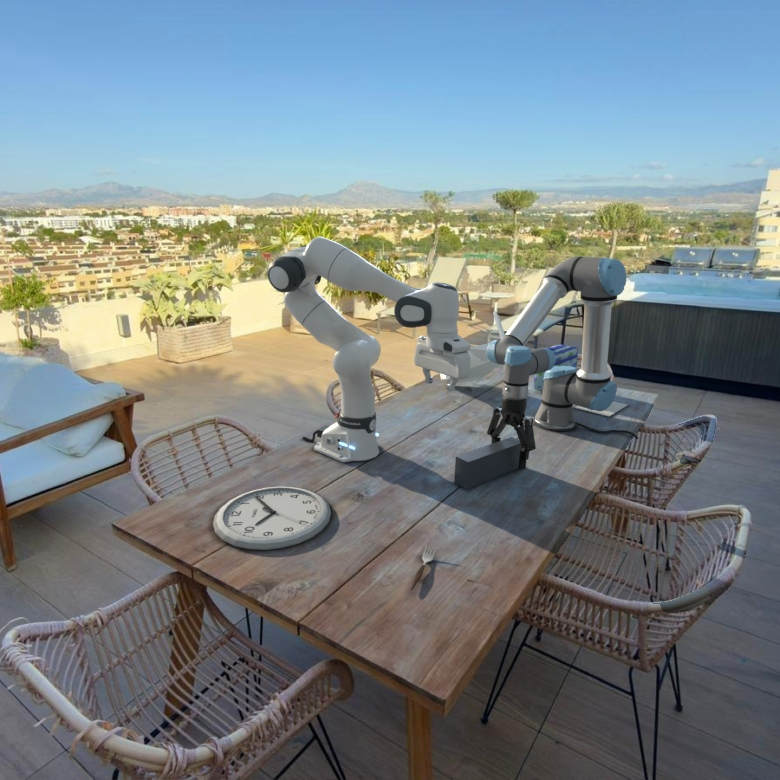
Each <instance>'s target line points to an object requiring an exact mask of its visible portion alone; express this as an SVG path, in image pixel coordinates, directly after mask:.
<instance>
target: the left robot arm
mask: <svg viewBox="0 0 780 780" xmlns="http://www.w3.org/2000/svg"><path fill="white" fill-rule="evenodd" d="M266 275H267V279H268V282H269V283H270V285H271V287H272V288H273V289H275V291H277V292H279V293H284V296H283V303H284V305H285V307H286V308H287V310H288V311H289V313H290V314H291V315H292V317H293V318H294V319H295V320H296V321H297V322H298V324H299V325H301V326H302V327H303V329H305V330H306V331H307V332H308V333H309V334H310V335H311V336H312V337H313V338H314V339H315V340H316V341H317V342H319V343H320V344H322V345H325V346H327V347H329V348H331V349H332V350H334V351H335V353H334V355H333V357H332V361H331V362H332V368H333V370H334V372H335V373H336V375H337V379H338V383H339V386H340V388H339V389H340V402H341V403H340V409H341V410H340V411H338V413H335V414H334V419H336V418H337V419H336V421H335V422H334V423H332V424H331V425H324V426H321V427H319V428H318V429H316V430H315V431H313V433H312V438H308V437H306V436H302V440H305V441H307V442H309V443H311V442H314V441H316V436H317V438H320V441H318V442H316V444H315V445H314V447H313V451H315V452H318V453H320V454H322V455H325V456H327V457H329V458H332V460H333V459H334V460H336V461H338V462H340V463H349V462H361V461H368V460H371V459H373V458H376V457H377V456H378V455H380V449H379V446H378V441H377V437H379V435H380V433H379V432H376V428H377V412H376V390H375V387H374V385H373V380H372V374H371V371H372V367H374V365H376V363H377V362H378V361H379V359H380V356H381V352H382V347H381V343H380V342H379V340H378V339H377V338H376V337H374V336H373V335H370V334H368V333H367V332H365V331H363V330H362V329H361V328H359V327H357V326H356V325H355V324H353V323H352V322H351V321H349V320H348V319H346V318H345V317H344V316H342V314H340V312H339V311H338V310H337V309H335V308H334V307H333V306H332V304H330V303H329V302H328V301H327V300H326V299H325V298H324V297H323V296H322V295H321V294H320V293H319V292H318V291H317V289H316V285H318V284H320V282H321V281H322V278H323V279H325V280H326V281H328V282H329V283H332V284H333V285H334V286H336V287H338V288H341V289H343V290H346V291H348V292H370V293H376V294H378V295H380V296H383V297H385V298H387V299H388V300H391V301H392V302H393V303H395V306H394V311H393V312H394V317H395V320H396V321H397V322H398V324H399V325H401V326H402V327H403V328H408V329H415V328H421V327H426V336H425V335H420V336H419V337H418V338H417V339H416V345H415V349H414V357H413V363H414V365H415V366H416V367H420V368H422V373H423V375H424V382H425V384H432V383H433V382H434V381H433V380H434V378H433V376H432V374H431V371H432V372H435V373H437V374H440V373H441V374H444V375H447V376H450V380H451V382H450V384H448V385H446V390H447V391H448V392H455V390H456V385H457V384H456V383H457V382H458V380H459V379H464V378H467V377H468V376H469V374H470V355H469V353H468V352H467V351H469V350H470V348H471V347H472V346H471V343H470V342H469V341H467V340H466V339H464V338H463V337H462V336H460V334H458V333H459V329H458V319H459V315H460V297H459V291H458V289H457V288H456V287H455V286H454V285H451V284H449V283H446V282H432V283H430V284H429V285H428V286H427V287H424V288H417V287H413V286H410V285H408V284H406V283H405V282H403V281H402V280H399V279H397V278H395V277H393V276H392V275H390V274H388V273H386V272H384V271H382V270H381V269H379V268H378V267H376V266H375V265H374V264H372V263H370V262H369V261H368V260H366V259H365V258H364V257H361V256H360V255H359V254H357V253H356V252H354V251H353V250H351V249H350V248H348V247H346V246H345V245H342V244H341V243H338V242H337V241H334V240H331V239H329V238H326V237H322V236H317V237H314V238H312V239H311V240H310V241H309V242H308V243H307V244H305V245H302V246H300V247H297V248H293V249H291V250H289V251H287V252H286V253H284V254H282V255H281V256H278V257H276V258H274V259H273V261H271V262H270V264H269V265H268V267H267V272H266Z"/></svg>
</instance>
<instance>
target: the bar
mask: <svg viewBox="0 0 780 780" xmlns="http://www.w3.org/2000/svg"><path fill="white" fill-rule="evenodd" d="M520 450H522V447H521V444H520V441H519V438H516V437H513V436H510V437H507V438H504V439H502V440H501V439H500V441H498V442H496V443H493V444H491V443H490V444H487V445H484V446H481V447H479V448H475V449H473V450H470V451H467V452H464V453H461V454H459V455H456V456H455V464H454V481H453V483H454V484H456V485H457V486H459V487H461V488H463V489H464V490H468V489H471V488H473V487H476V486H479V485H481V484H484V483H486V482H488V481H491V480H493V479H496V478H499V477H500V476H503V475H506V474H508V473H511V472H513V471H515V470H518V466H519V456H520Z"/></svg>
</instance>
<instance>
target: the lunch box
mask: <svg viewBox="0 0 780 780" xmlns="http://www.w3.org/2000/svg"><path fill="white" fill-rule="evenodd" d="M547 348H548V349H550V350H552V351H553V353H554V355H555V358H556V362H555V365H554V366H572V367H575V368H577V366H578V356H579V354H578V353H579V352H578V347H577V346H571V345H565V344H556V345H553V346H549V347H547ZM544 374H545V372H543V373H538V374H534V375H533V389H534V390H535V391H539V392H542V391H543V381H544V379H543V378H544Z"/></svg>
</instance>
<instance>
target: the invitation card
mask: <svg viewBox="0 0 780 780" xmlns="http://www.w3.org/2000/svg"><path fill="white" fill-rule="evenodd" d="M628 406H629V404H627V403H623V402H618V401H614V400H613V402H612V403H611V405H610V406H609V407H608V408H607V409H606V410H604V411H596V410H590V409H588V408H584V407H581V406H578V405H575V406H574V407H573V409H575V410H581V411H584V412H587V413H593V414H596V415H600V416H604V417H608V418H609V417H611V416H613V415H614V414H616V413H617V412H619V411H621V410H623V409H624V408H626V407H628Z"/></svg>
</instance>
